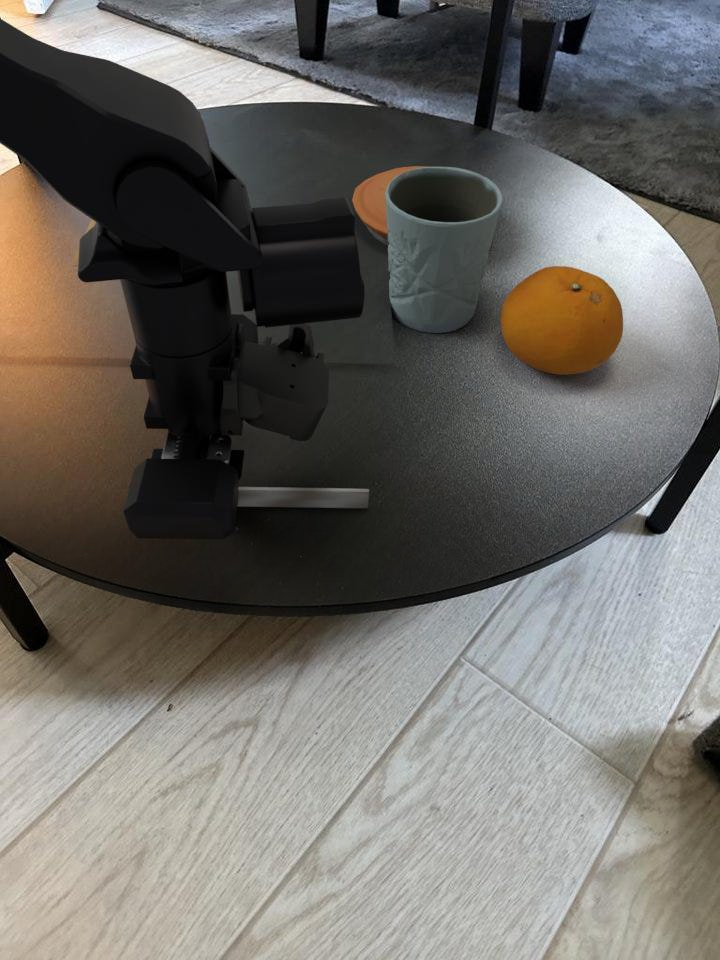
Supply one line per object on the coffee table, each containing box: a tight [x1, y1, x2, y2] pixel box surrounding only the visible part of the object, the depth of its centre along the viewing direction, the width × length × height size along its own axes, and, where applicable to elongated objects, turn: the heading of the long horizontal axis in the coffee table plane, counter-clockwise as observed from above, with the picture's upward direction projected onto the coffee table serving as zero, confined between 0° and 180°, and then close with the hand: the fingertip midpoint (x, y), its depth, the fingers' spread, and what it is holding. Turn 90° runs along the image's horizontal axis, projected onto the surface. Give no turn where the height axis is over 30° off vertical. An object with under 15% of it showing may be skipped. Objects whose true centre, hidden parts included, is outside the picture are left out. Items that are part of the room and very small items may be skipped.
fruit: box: [500, 265, 624, 376], centre depth 66 cm, size 10×10×8 cm
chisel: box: [237, 486, 370, 509], centre depth 55 cm, size 17×2×2 cm, turn 90°
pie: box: [351, 165, 427, 246], centre depth 80 cm, size 16×16×5 cm
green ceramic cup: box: [385, 166, 504, 334], centre depth 68 cm, size 10×10×12 cm
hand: (214, 496), depth 55 cm, fingers closed on chisel, 2 cm apart
